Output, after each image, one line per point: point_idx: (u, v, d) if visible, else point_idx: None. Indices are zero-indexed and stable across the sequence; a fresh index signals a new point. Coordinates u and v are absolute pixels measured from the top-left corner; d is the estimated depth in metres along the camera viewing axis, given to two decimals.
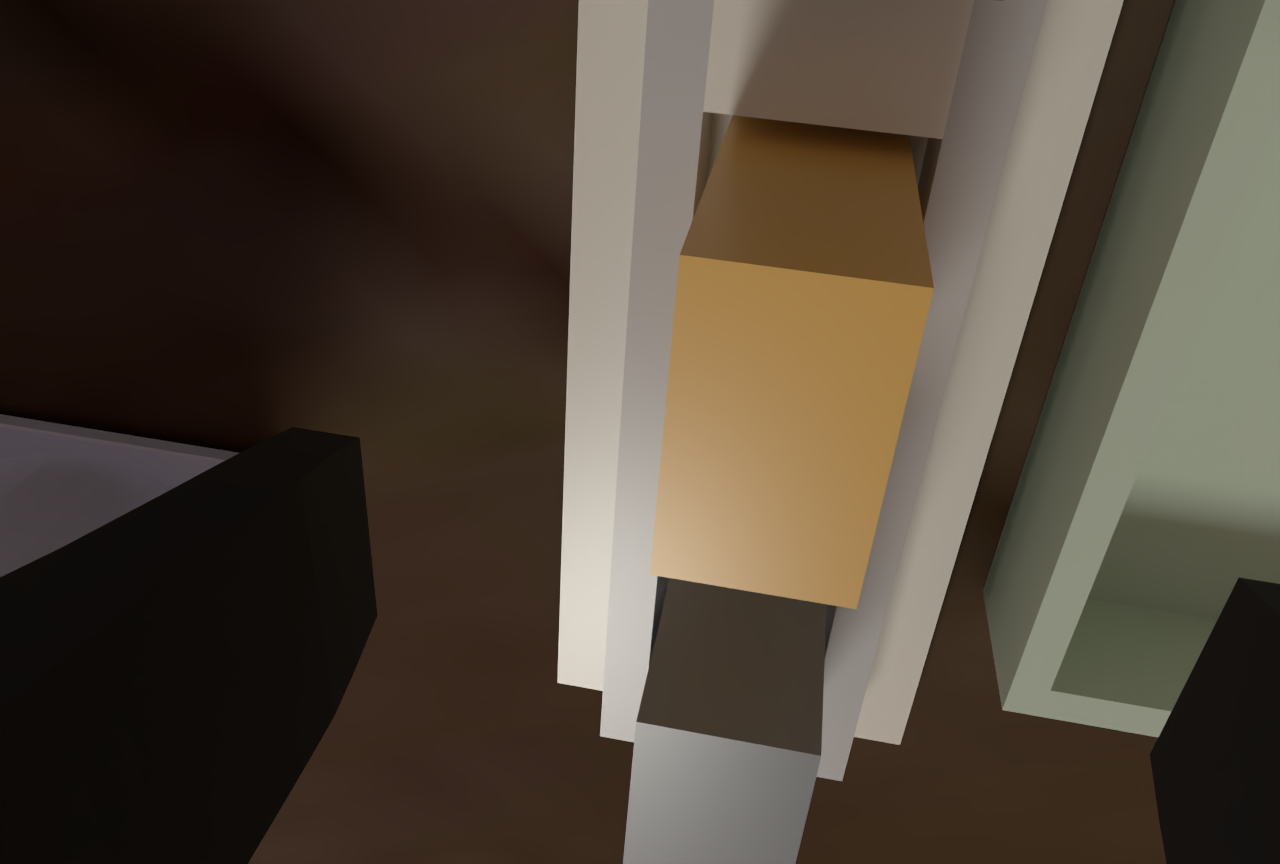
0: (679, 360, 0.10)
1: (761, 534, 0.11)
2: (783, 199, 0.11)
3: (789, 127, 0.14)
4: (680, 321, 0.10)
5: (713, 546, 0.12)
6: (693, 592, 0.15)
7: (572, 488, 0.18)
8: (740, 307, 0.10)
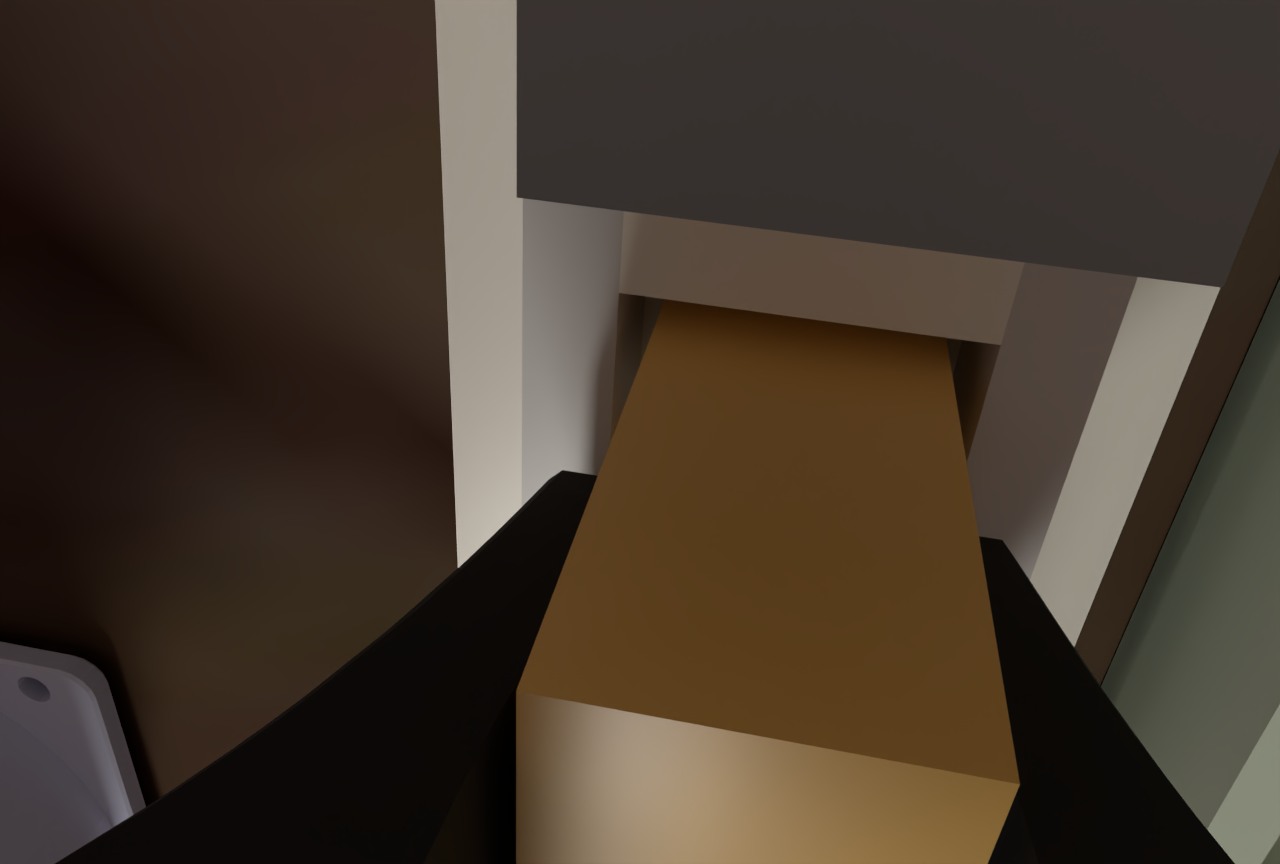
0: (533, 840, 0.06)
1: None
2: (735, 491, 0.07)
3: None
4: (529, 788, 0.05)
5: None
6: None
7: None
8: (640, 778, 0.05)
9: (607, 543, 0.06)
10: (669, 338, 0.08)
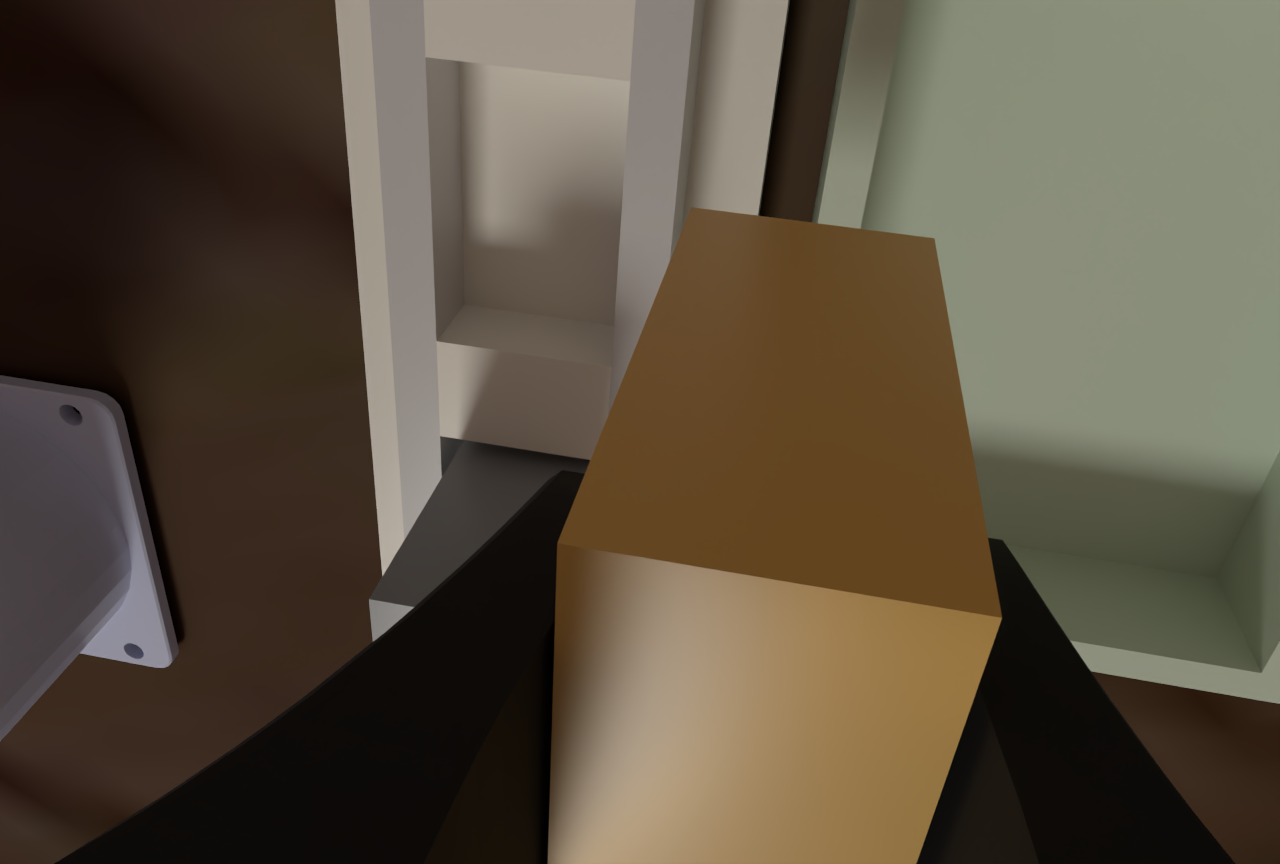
0: (568, 690, 0.06)
1: None
2: (748, 392, 0.07)
3: (765, 241, 0.10)
4: (566, 638, 0.06)
5: None
6: (454, 497, 0.17)
7: (377, 416, 0.20)
8: (666, 623, 0.06)
9: (633, 432, 0.07)
10: (683, 270, 0.09)
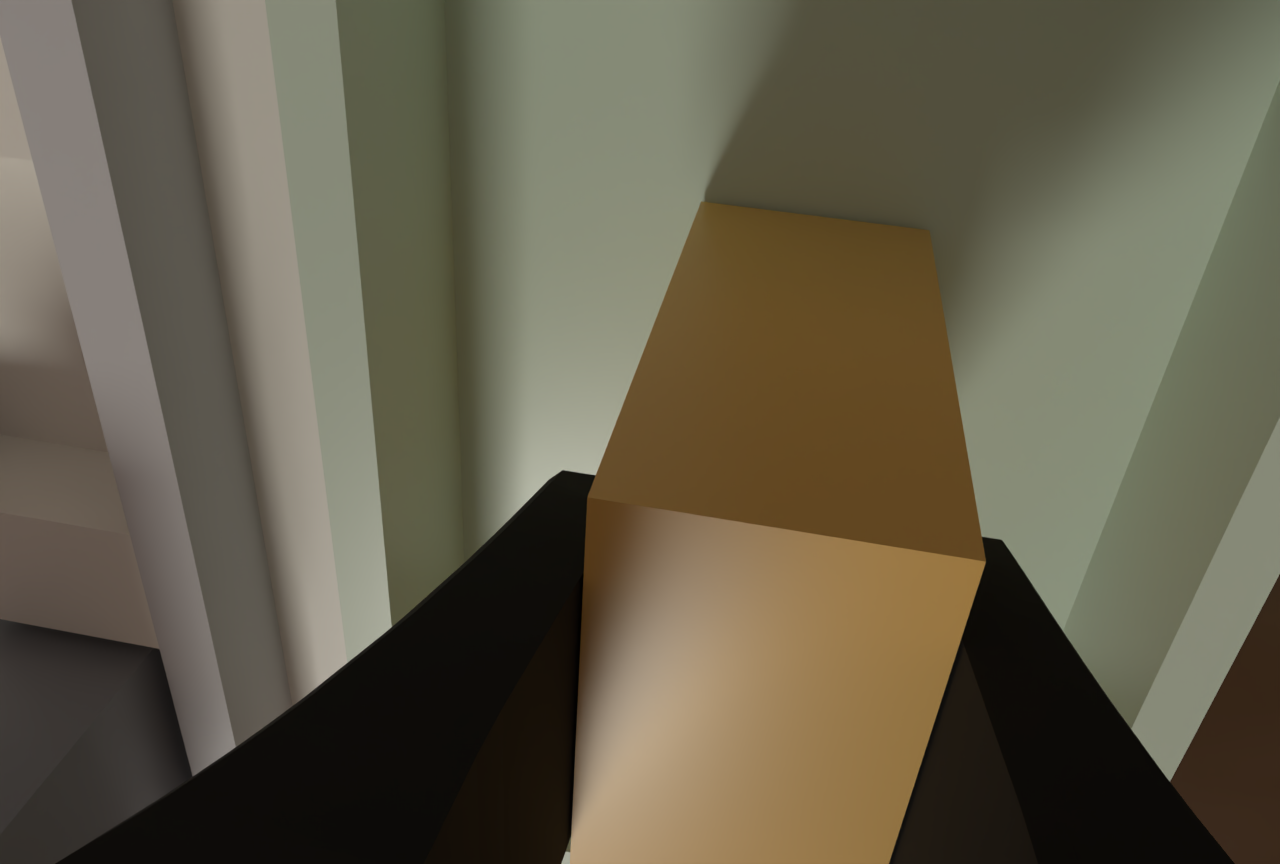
0: (595, 635, 0.07)
1: (724, 853, 0.08)
2: (757, 369, 0.08)
3: (771, 233, 0.10)
4: (593, 586, 0.07)
5: (655, 862, 0.08)
6: None
7: None
8: (684, 571, 0.06)
9: (652, 402, 0.07)
10: (695, 259, 0.10)
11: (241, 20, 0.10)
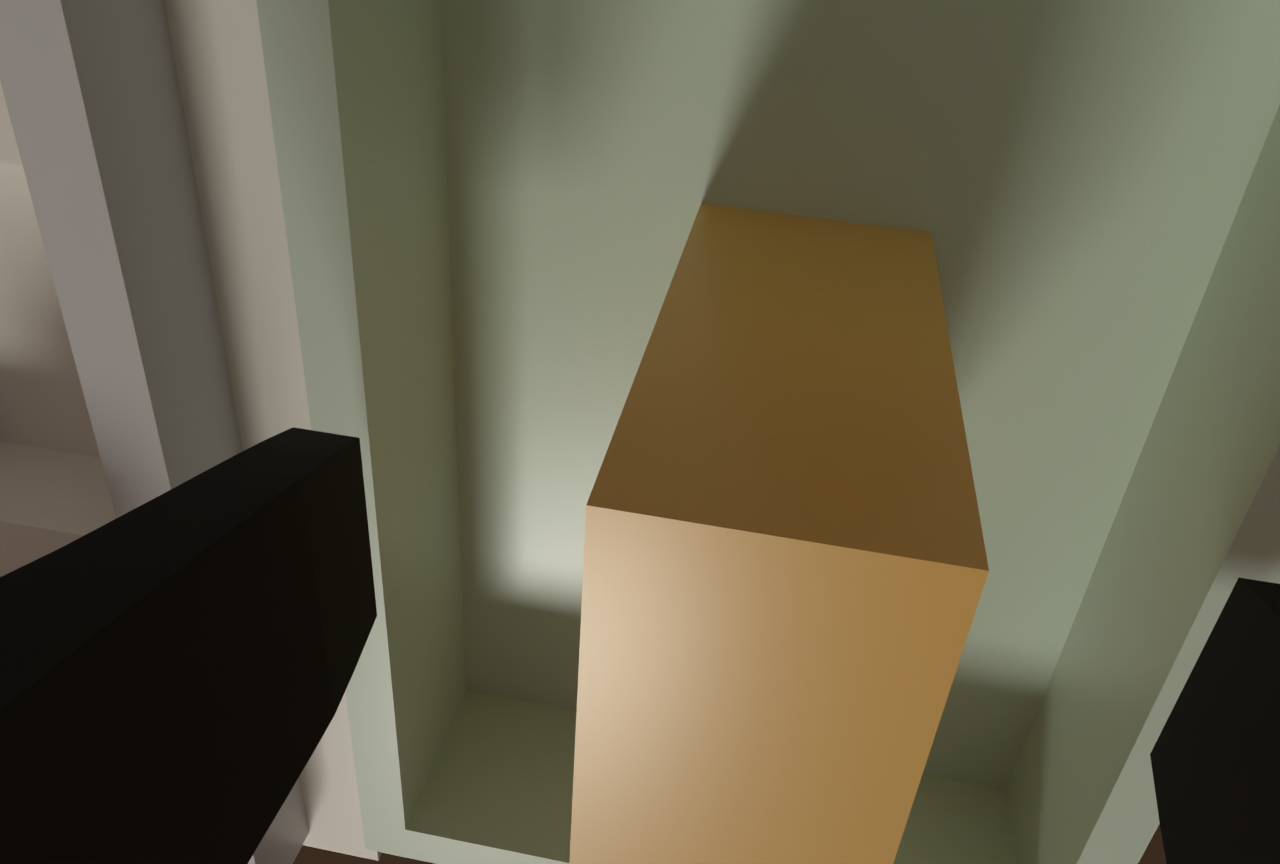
0: (594, 644, 0.07)
1: (723, 861, 0.08)
2: (757, 374, 0.08)
3: (771, 235, 0.10)
4: (592, 594, 0.07)
5: None
6: None
7: None
8: (683, 580, 0.06)
9: (651, 408, 0.07)
10: (695, 262, 0.09)
11: (234, 22, 0.10)
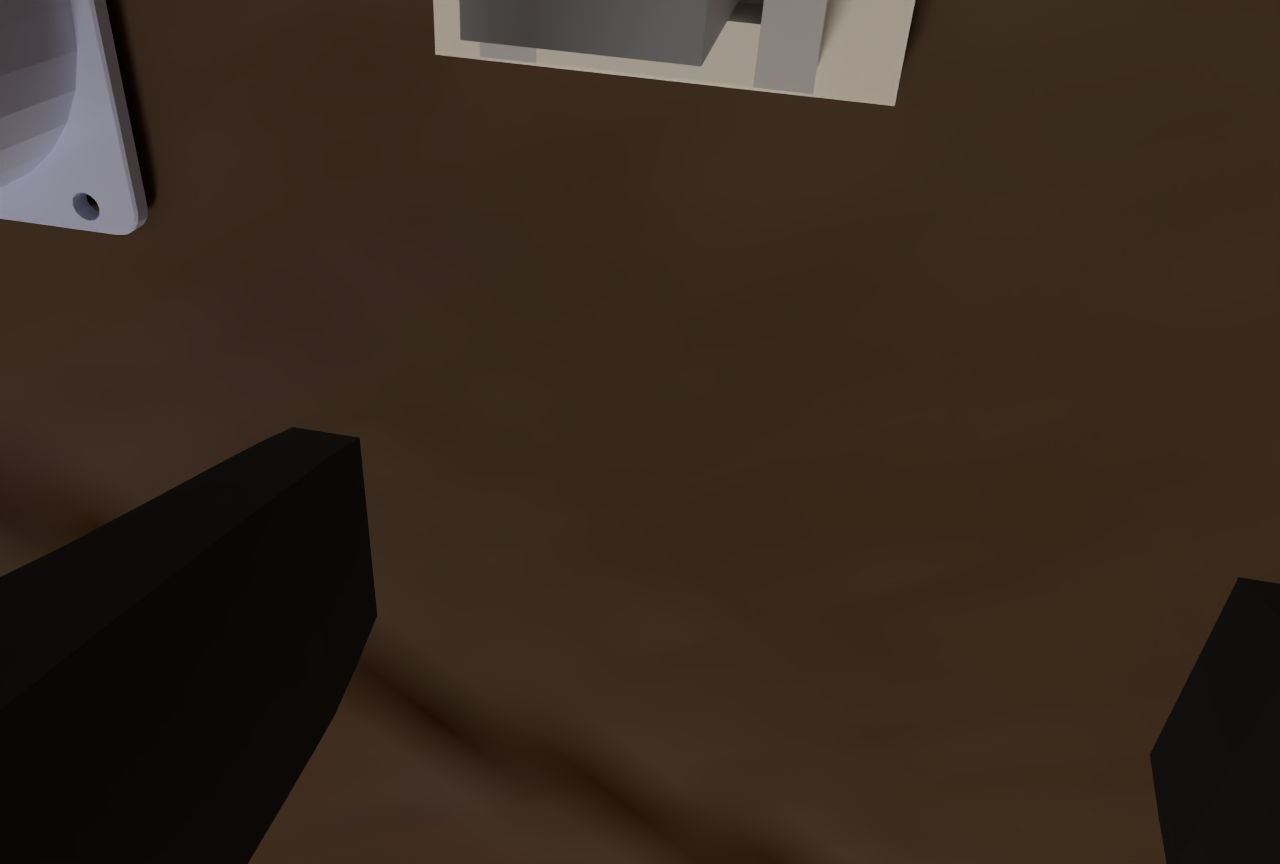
0: None
1: None
2: None
3: None
4: None
5: None
6: None
7: None
8: None
9: None
10: None
11: None
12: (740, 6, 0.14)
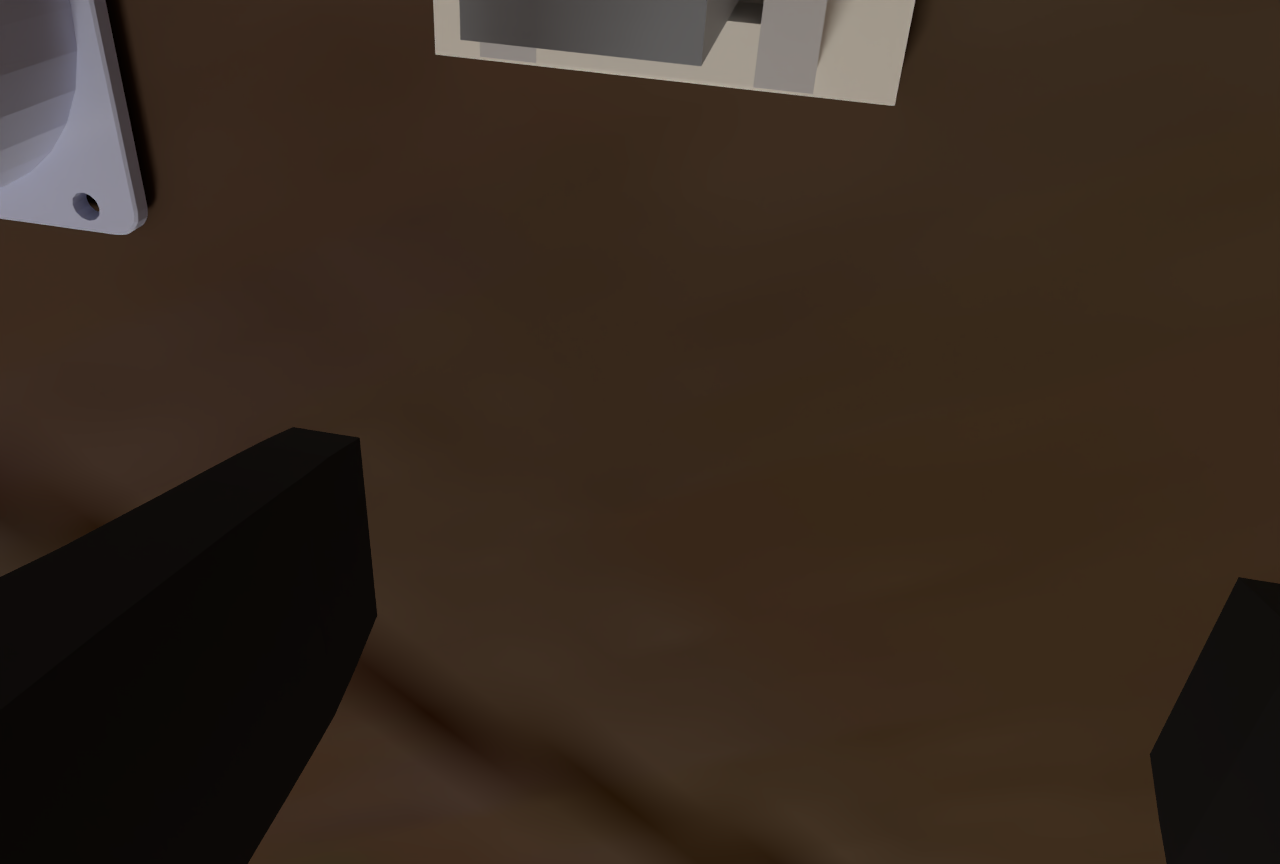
0: None
1: None
2: None
3: None
4: None
5: None
6: None
7: None
8: None
9: None
10: None
11: None
12: (740, 6, 0.14)
